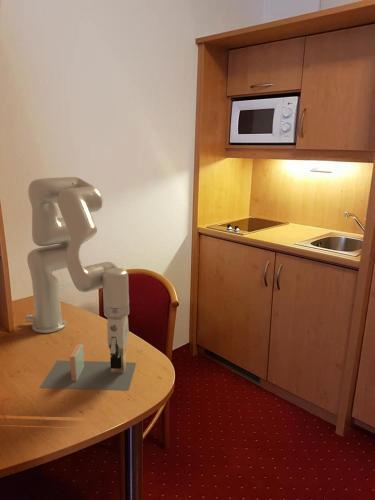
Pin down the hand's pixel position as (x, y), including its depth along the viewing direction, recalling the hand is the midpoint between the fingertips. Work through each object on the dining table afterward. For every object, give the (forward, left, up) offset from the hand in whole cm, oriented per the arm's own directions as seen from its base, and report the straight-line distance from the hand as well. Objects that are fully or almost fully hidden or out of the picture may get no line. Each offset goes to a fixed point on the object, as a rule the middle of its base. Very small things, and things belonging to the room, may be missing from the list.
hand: (118, 361), depth 125 cm
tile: (-12, -3, -3) cm, 13 cm away
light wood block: (0, 0, -3) cm, 3 cm away
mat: (-8, -3, -3) cm, 9 cm away
